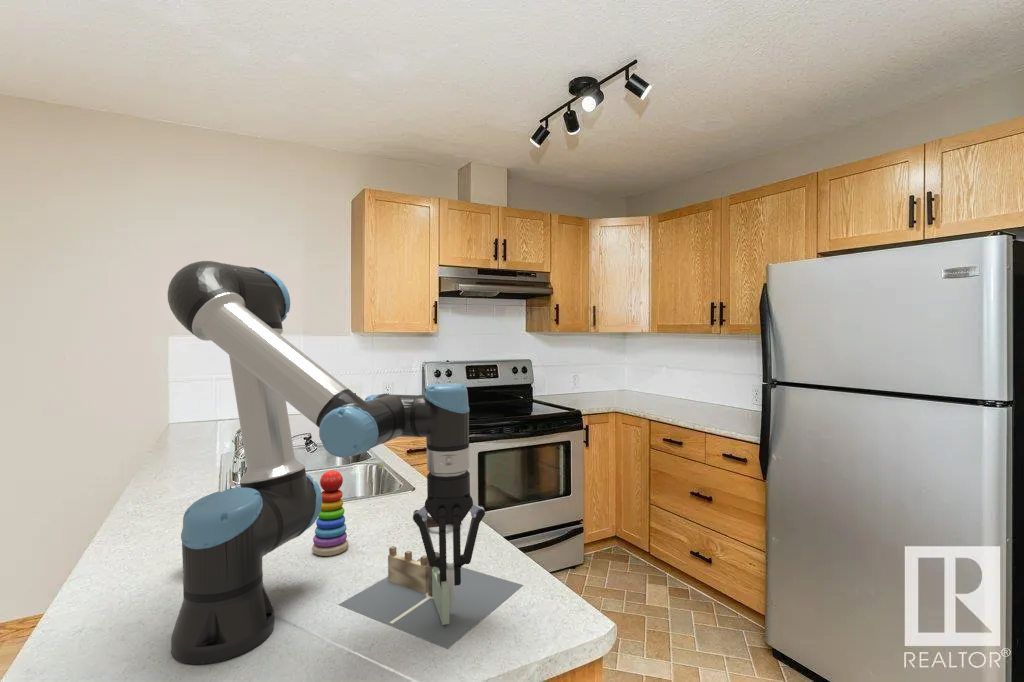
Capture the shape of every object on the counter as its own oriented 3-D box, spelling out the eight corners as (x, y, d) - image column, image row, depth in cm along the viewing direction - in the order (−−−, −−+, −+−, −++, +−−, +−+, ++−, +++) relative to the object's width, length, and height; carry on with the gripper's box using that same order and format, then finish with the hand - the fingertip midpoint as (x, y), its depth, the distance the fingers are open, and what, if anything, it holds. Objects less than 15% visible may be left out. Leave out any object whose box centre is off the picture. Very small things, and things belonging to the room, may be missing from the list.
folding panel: (432, 596, 97) (432, 560, 97) (438, 595, 97) (438, 559, 97) (442, 624, 87) (442, 585, 87) (449, 623, 88) (449, 584, 88)
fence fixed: (442, 593, 99) (441, 553, 99) (434, 598, 97) (434, 557, 97) (394, 577, 105) (393, 539, 105) (386, 581, 104) (386, 543, 103)
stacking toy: (336, 558, 115) (335, 476, 115) (305, 556, 117) (304, 474, 117) (354, 544, 123) (353, 467, 123) (324, 542, 125) (323, 465, 125)
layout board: (447, 652, 81) (447, 648, 81) (338, 607, 95) (338, 603, 95) (523, 587, 102) (523, 584, 102) (424, 558, 115) (424, 555, 115)
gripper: (410, 479, 86) (412, 618, 86) (486, 474, 88) (488, 610, 88) (412, 467, 93) (414, 595, 94) (482, 463, 95) (484, 589, 96)
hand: (450, 602), depth 91 cm, fingers closed
